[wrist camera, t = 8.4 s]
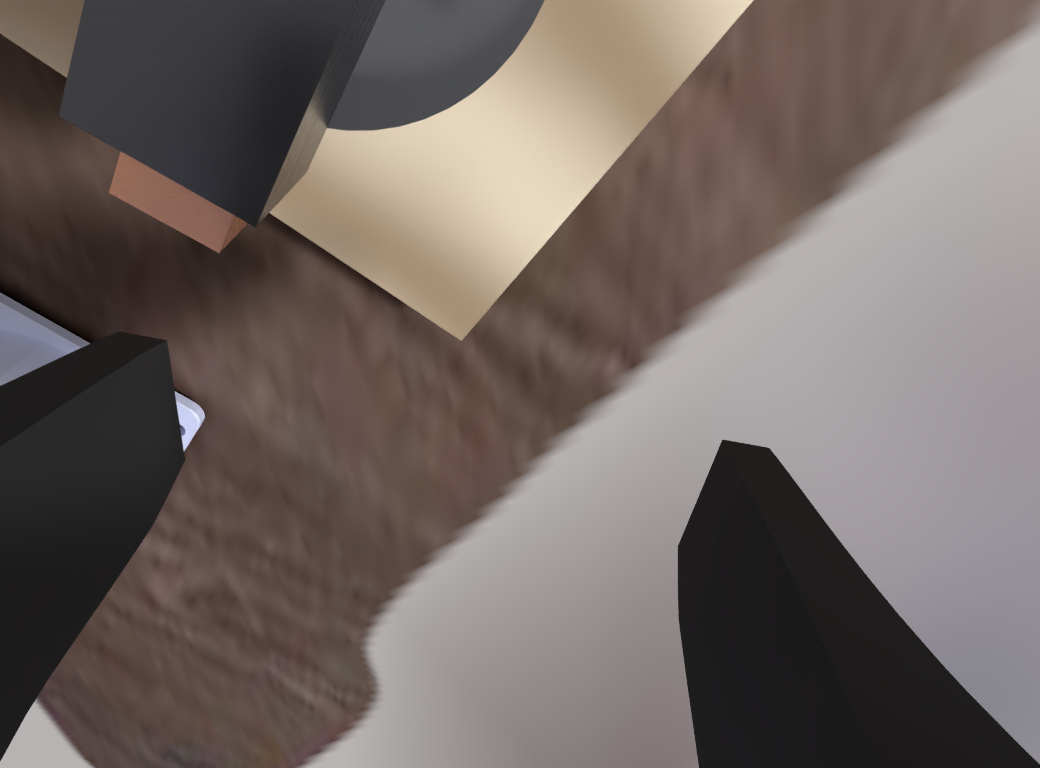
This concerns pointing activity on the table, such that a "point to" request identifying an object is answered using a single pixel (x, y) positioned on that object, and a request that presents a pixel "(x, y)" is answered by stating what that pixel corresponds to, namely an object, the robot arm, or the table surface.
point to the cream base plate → (474, 147)
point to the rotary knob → (265, 90)
